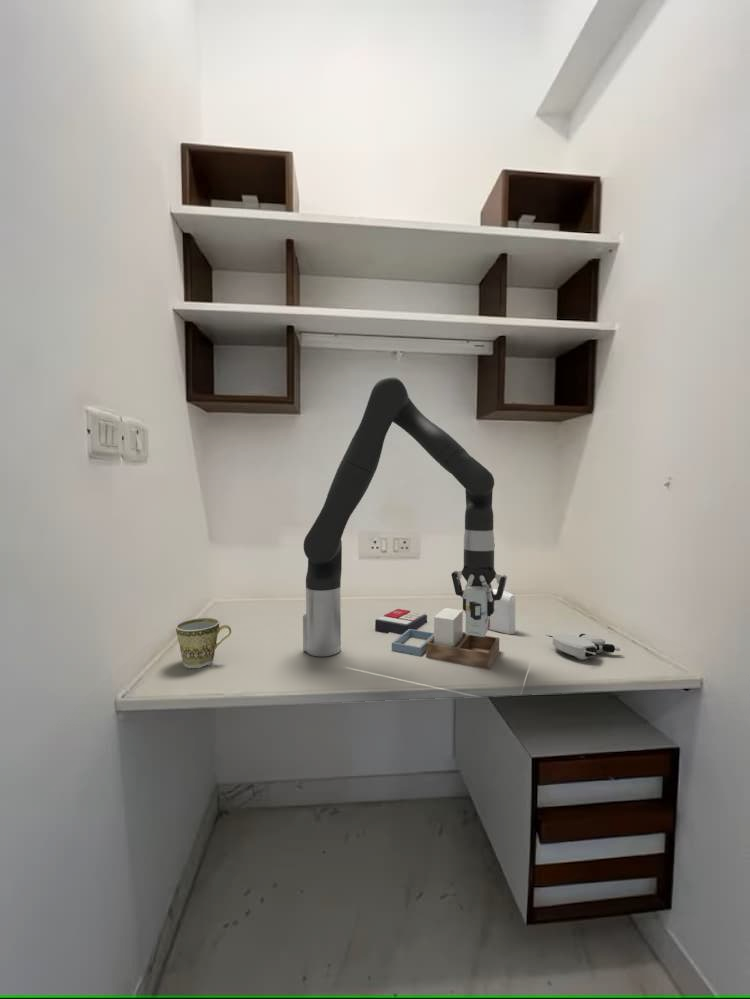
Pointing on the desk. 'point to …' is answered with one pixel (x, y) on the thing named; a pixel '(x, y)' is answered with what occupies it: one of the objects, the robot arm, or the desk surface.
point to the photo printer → (503, 614)
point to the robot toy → (581, 645)
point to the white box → (448, 627)
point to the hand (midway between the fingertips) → (478, 613)
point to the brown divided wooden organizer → (467, 651)
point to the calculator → (400, 621)
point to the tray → (410, 649)
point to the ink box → (476, 611)
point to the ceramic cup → (198, 640)
